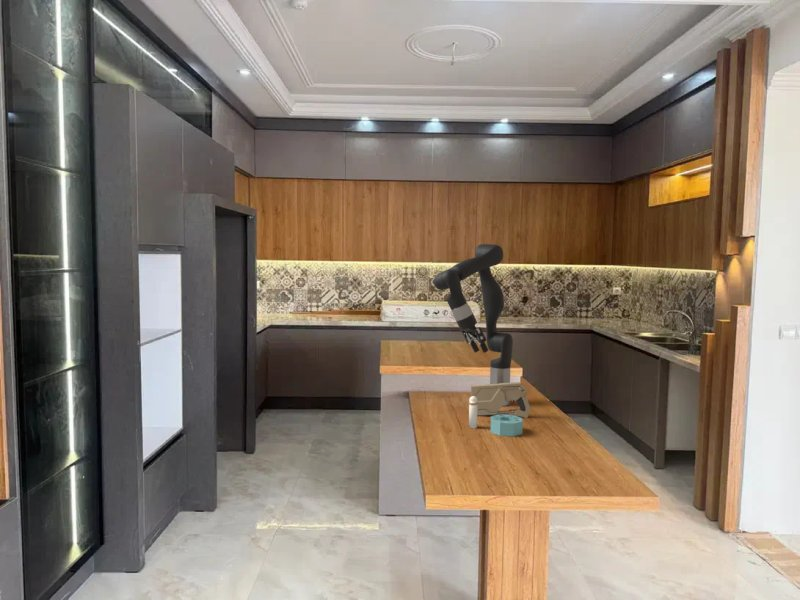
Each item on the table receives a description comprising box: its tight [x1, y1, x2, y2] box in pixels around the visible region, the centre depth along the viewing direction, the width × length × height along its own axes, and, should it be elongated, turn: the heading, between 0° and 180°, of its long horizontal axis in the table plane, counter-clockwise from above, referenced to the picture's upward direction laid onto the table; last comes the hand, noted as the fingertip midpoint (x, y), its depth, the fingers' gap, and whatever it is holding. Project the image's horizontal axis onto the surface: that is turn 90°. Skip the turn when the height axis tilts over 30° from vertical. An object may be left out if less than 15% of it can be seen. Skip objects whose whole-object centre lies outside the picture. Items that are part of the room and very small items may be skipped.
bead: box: [490, 414, 524, 437], centre depth 221 cm, size 12×12×5 cm
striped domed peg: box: [468, 395, 478, 429], centre depth 226 cm, size 3×3×13 cm
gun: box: [470, 381, 532, 419], centre depth 243 cm, size 24×3×15 cm, turn 84°
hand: (481, 351), depth 231 cm, fingers open, 8 cm apart
